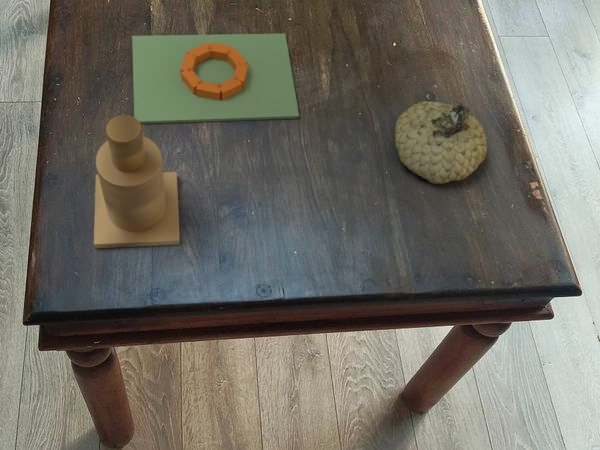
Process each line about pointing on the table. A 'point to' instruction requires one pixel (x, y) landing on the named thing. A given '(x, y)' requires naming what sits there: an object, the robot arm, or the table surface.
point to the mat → (212, 79)
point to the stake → (133, 190)
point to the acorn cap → (440, 141)
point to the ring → (214, 89)
